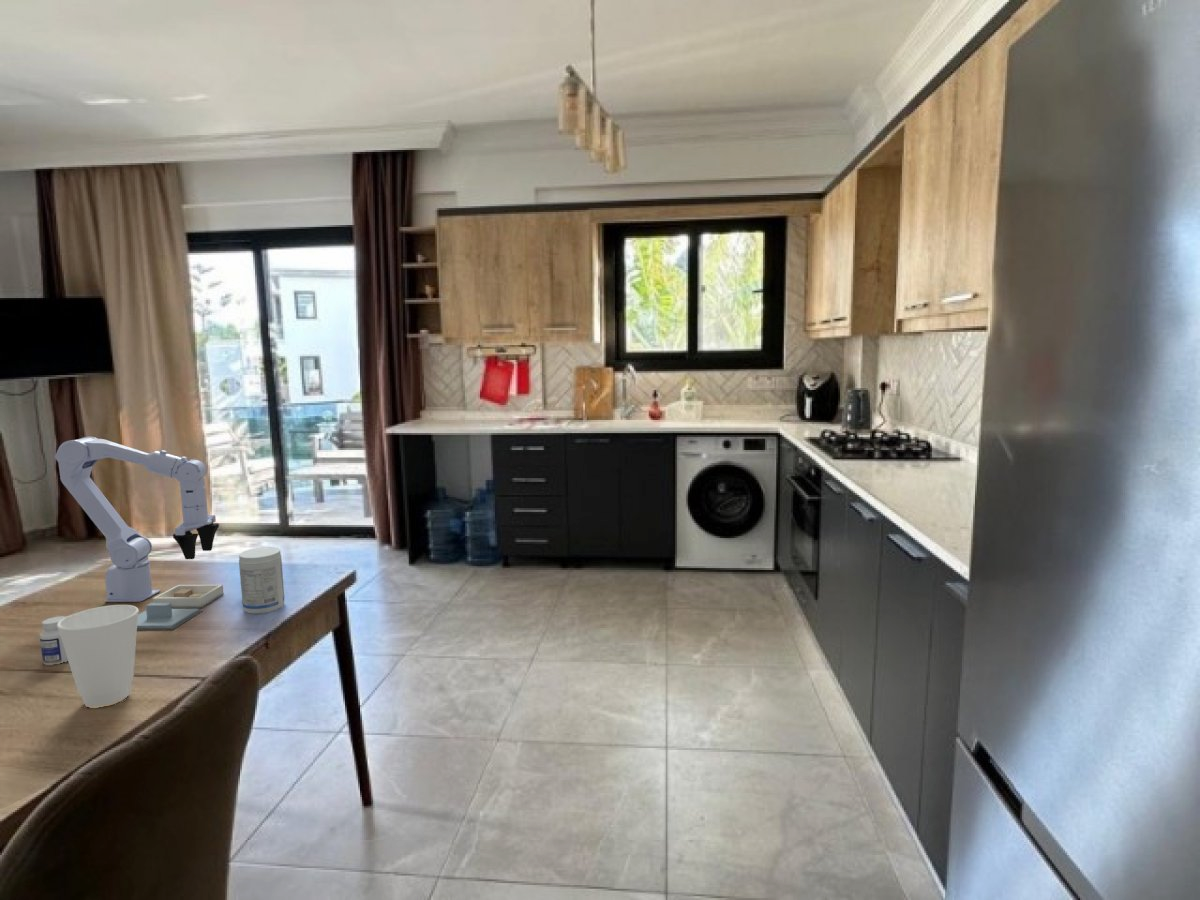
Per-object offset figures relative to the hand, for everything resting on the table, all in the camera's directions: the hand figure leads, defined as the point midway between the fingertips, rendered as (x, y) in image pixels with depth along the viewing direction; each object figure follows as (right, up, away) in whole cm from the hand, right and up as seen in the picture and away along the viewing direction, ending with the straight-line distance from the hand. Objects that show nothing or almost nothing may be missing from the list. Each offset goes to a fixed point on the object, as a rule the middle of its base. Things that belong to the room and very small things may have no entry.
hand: (198, 554), depth 175 cm
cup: (+17, -18, -55) cm, 60 cm away
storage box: (+1, -11, -6) cm, 13 cm away
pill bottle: (-5, -16, -39) cm, 43 cm away
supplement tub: (+23, -12, -10) cm, 28 cm away
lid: (+2, -13, -18) cm, 22 cm away
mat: (+2, -13, -18) cm, 23 cm away
